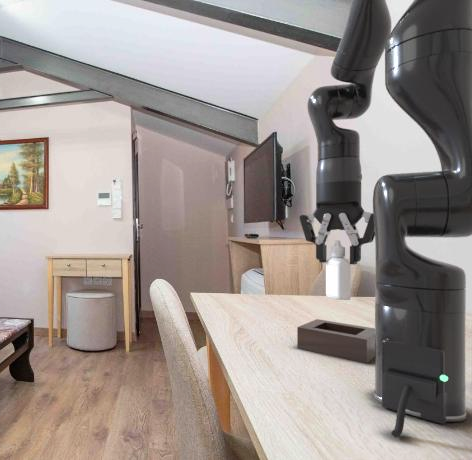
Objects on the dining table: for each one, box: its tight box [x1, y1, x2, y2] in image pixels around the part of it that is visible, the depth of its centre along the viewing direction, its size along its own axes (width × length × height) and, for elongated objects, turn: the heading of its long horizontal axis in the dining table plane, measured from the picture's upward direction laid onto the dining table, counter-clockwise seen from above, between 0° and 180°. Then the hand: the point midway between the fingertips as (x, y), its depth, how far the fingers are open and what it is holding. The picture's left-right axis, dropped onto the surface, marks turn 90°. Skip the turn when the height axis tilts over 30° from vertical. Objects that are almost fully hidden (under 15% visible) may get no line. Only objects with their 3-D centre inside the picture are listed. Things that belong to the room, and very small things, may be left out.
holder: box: [296, 318, 375, 364], centre depth 79 cm, size 12×12×4 cm
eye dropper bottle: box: [325, 240, 352, 301], centre depth 79 cm, size 4×6×12 cm
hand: (337, 262), depth 79 cm, fingers closed on eye dropper bottle, 4 cm apart
